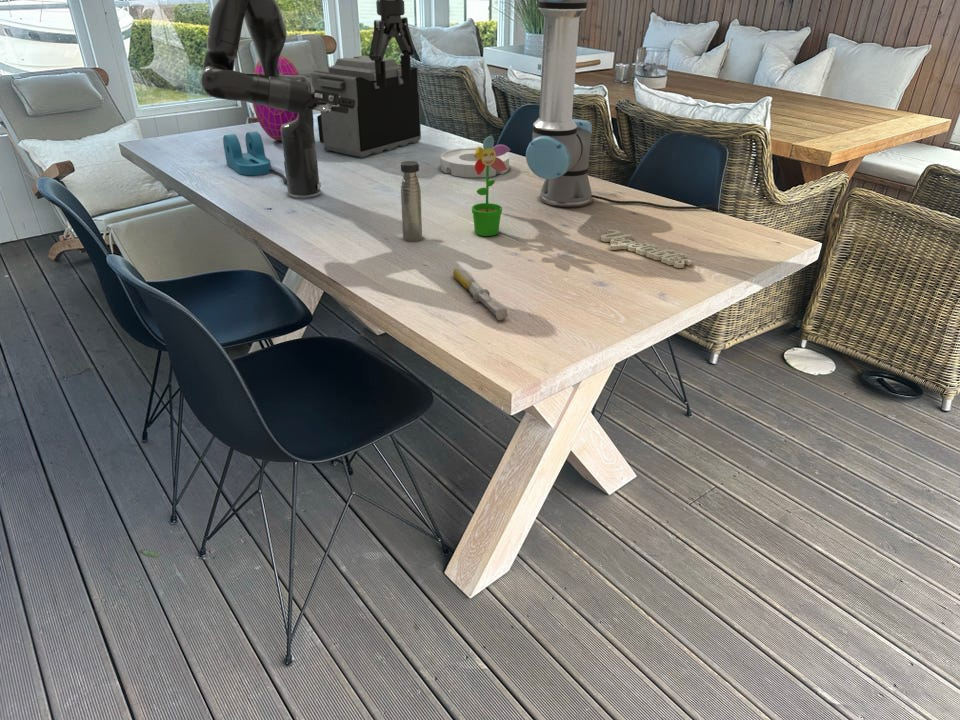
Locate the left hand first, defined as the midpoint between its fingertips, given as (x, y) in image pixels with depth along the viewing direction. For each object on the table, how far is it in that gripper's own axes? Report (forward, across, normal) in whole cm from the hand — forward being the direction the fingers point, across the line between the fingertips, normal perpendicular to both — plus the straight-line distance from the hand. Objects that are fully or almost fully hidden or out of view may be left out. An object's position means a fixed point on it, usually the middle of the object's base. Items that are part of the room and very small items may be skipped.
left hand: (351, 107), depth 178 cm
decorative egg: (-6, +98, -1) cm, 99 cm away
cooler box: (+23, +79, -2) cm, 82 cm away
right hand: (+14, +16, -12) cm, 24 cm away
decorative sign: (+66, -42, +28) cm, 83 cm away
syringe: (+20, -51, +42) cm, 70 cm away
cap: (+11, -21, +14) cm, 27 cm away
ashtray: (+50, +38, +5) cm, 63 cm away
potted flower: (+35, -18, +28) cm, 48 cm away
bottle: (+15, -15, +32) cm, 38 cm away
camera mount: (-20, +63, +14) cm, 67 cm away
